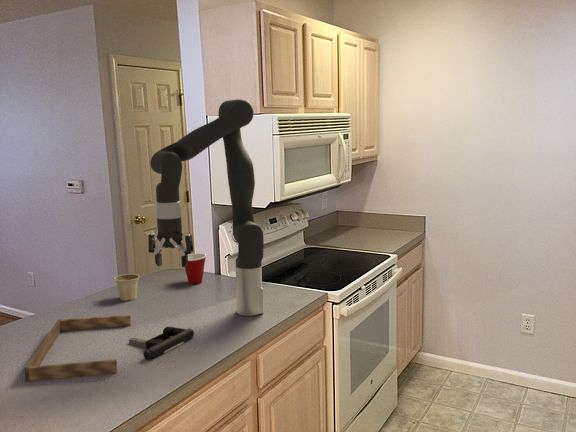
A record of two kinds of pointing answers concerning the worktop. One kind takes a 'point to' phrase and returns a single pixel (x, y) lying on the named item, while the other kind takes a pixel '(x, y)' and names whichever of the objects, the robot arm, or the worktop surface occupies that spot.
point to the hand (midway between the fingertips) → (171, 266)
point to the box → (73, 369)
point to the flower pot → (127, 286)
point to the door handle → (158, 343)
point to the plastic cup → (195, 268)
